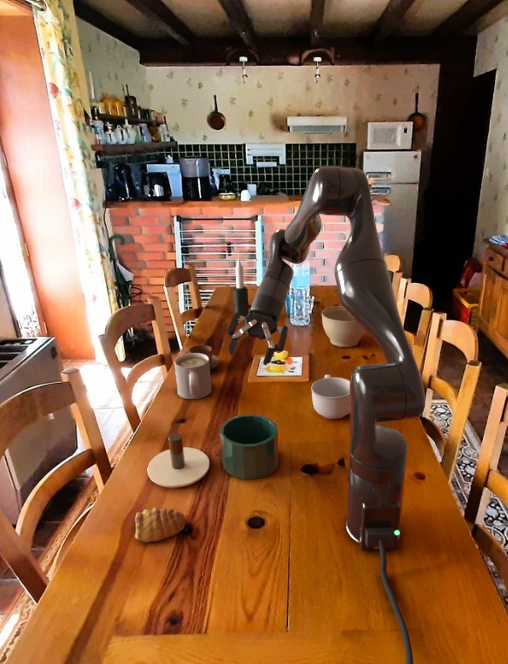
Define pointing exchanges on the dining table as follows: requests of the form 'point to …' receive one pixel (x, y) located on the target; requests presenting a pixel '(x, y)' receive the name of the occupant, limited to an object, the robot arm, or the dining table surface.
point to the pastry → (158, 524)
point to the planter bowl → (341, 327)
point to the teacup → (331, 397)
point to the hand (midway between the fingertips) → (247, 359)
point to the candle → (240, 293)
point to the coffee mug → (193, 375)
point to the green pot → (249, 446)
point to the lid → (178, 464)
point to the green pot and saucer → (206, 351)
